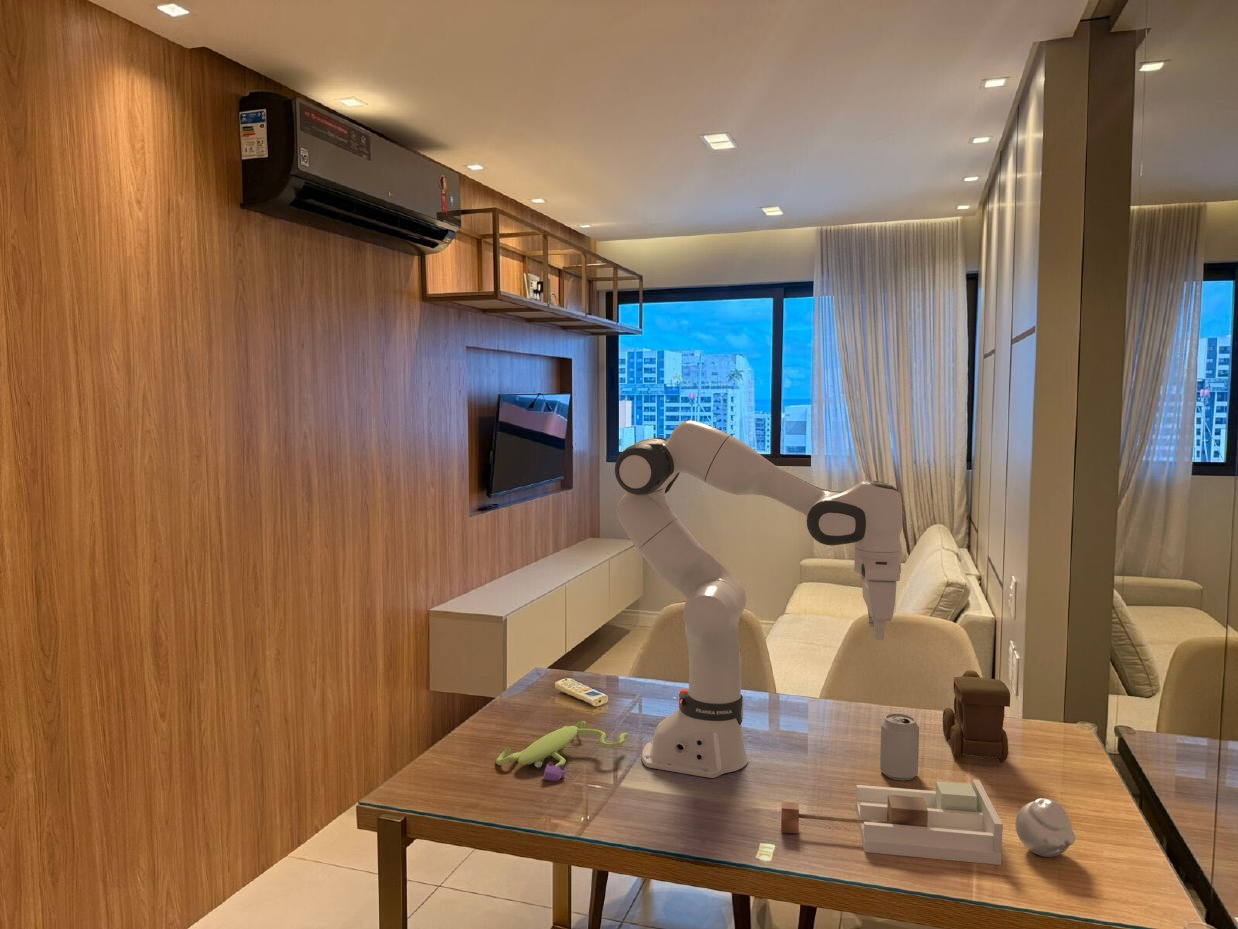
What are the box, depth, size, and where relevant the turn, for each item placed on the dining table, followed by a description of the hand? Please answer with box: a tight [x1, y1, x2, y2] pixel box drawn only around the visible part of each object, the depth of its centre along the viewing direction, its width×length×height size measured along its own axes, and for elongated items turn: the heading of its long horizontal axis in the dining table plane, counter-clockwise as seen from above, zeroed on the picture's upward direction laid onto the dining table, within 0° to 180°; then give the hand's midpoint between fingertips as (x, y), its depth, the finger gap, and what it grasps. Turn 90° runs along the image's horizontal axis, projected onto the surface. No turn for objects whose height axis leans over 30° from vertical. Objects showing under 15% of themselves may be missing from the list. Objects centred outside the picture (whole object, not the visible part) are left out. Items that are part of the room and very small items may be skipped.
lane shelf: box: [855, 778, 1004, 866], centre depth 153 cm, size 22×17×7 cm
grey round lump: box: [1014, 797, 1076, 858], centre depth 146 cm, size 9×10×10 cm
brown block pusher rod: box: [780, 795, 928, 835], centre depth 152 cm, size 24×5×7 cm, turn 80°
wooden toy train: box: [942, 670, 1011, 763], centre depth 190 cm, size 20×11×17 cm, turn 168°
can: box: [879, 712, 920, 781], centre depth 177 cm, size 8×8×12 cm
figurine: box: [495, 720, 629, 782], centre depth 185 cm, size 18×27×6 cm
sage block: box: [935, 781, 977, 812], centre depth 156 cm, size 6×5×5 cm
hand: (875, 632), depth 171 cm, fingers open, 8 cm apart
